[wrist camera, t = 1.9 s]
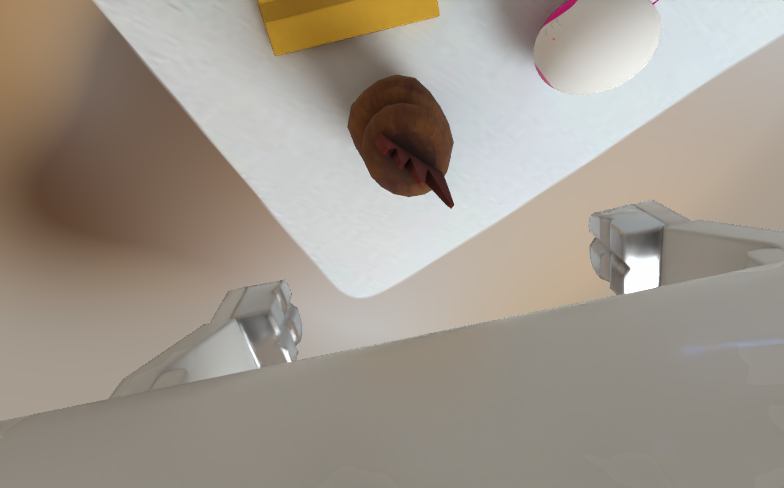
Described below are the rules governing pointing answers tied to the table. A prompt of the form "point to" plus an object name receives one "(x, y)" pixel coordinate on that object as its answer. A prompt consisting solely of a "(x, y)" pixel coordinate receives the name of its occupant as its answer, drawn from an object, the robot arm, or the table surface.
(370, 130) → the wooden figurine
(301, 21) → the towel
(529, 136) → the table surface
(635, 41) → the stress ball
